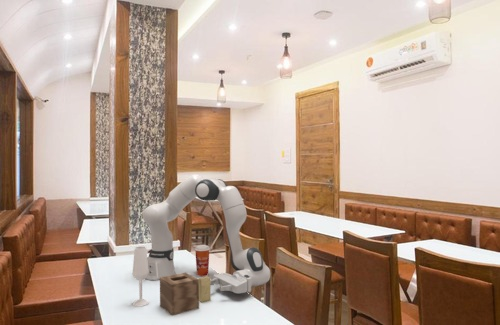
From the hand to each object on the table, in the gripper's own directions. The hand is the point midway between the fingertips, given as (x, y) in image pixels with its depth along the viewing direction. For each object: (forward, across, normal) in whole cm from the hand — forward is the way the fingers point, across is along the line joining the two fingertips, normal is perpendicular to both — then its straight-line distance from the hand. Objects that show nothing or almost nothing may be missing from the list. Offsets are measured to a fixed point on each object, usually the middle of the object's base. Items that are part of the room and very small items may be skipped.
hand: (214, 285), depth 167 cm
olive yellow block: (+5, 0, +5) cm, 7 cm away
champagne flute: (+29, -14, +6) cm, 32 cm away
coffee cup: (-13, -35, +6) cm, 38 cm away
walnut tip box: (+17, 0, +5) cm, 18 cm away
